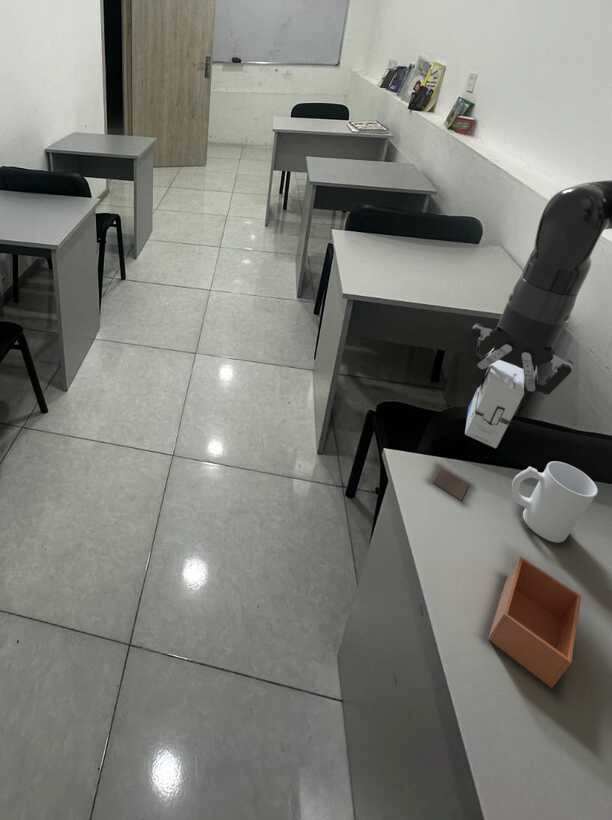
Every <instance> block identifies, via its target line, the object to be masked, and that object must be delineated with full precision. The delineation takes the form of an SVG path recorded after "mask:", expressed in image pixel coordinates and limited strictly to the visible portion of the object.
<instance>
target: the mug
mask: <svg viewBox="0 0 612 820" xmlns="http://www.w3.org/2000/svg"><path fill="white" fill-rule="evenodd" d="M526 479H535V480H537V481H538V482H537V484H536V486H535V487H534V490H533V492H532V493H531V496H530V497H527V496H524V495H522V493H521V492H520V486H521V484H522V482H524V480H526ZM511 490H512V497H513V501H514V503H515V504H518V505H520V506H522V507H524V510H523V512H522V517H523V520H524V522H525V524H526V525H527V526H528V527H529V528H530V529H531V530H532V531H533V532H534V533H535V534H537V535H538V536H540V537H541V538H542V539H544V540H547V541H549V542H552V543H563V542H564V541H565V540H566V539H567V538H568V537H569V535H570V534H571V532H572V531H573V530H574V528H575V527H576V525H577V523H578V522H579V520H580V519H581V517H582V516H583V515H584V514H585V512H586V511H587V509H588V508H589V506H591V503H592V502H593V500H594V499H595V497H596V496H597V494H598V492H599V491H598V487H597V484H595V482H594V481H593V480H592V478H590V476H588V475H587V474H586V473H585V472H584V471H582V470H580V469H579V468H576V467H575V466H573V465H571V464H568V463H565V462H562V461H554V460H553V461H549V462H548V463H547V464H546V466H545V469H544V471H543V472H539V471H538V469H537V468H534V467H532V466H528V467H527V468H526V469H524V470H522V471H520V472H519V473H517V474H516V475H515V476H514V478H513V480H512V482H511Z"/></svg>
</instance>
